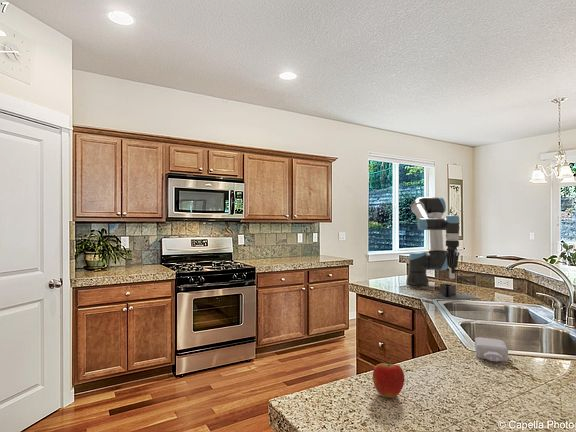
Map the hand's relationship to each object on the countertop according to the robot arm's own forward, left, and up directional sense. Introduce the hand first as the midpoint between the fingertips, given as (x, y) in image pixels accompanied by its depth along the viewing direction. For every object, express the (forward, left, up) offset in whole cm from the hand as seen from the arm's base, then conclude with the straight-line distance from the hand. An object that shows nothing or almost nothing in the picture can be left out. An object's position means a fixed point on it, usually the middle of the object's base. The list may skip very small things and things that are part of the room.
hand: (452, 278), depth 228 cm
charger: (+101, -38, -11) cm, 109 cm away
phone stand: (-3, -1, -7) cm, 8 cm away
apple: (+126, -82, -11) cm, 151 cm away
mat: (+5, 0, -10) cm, 12 cm away
